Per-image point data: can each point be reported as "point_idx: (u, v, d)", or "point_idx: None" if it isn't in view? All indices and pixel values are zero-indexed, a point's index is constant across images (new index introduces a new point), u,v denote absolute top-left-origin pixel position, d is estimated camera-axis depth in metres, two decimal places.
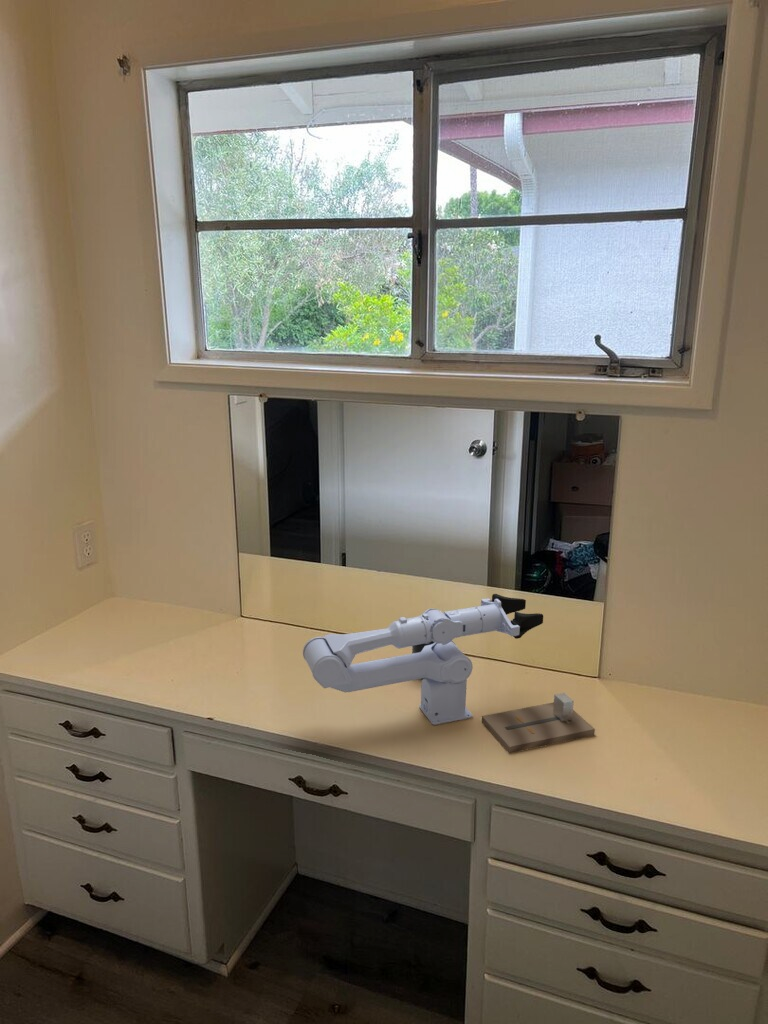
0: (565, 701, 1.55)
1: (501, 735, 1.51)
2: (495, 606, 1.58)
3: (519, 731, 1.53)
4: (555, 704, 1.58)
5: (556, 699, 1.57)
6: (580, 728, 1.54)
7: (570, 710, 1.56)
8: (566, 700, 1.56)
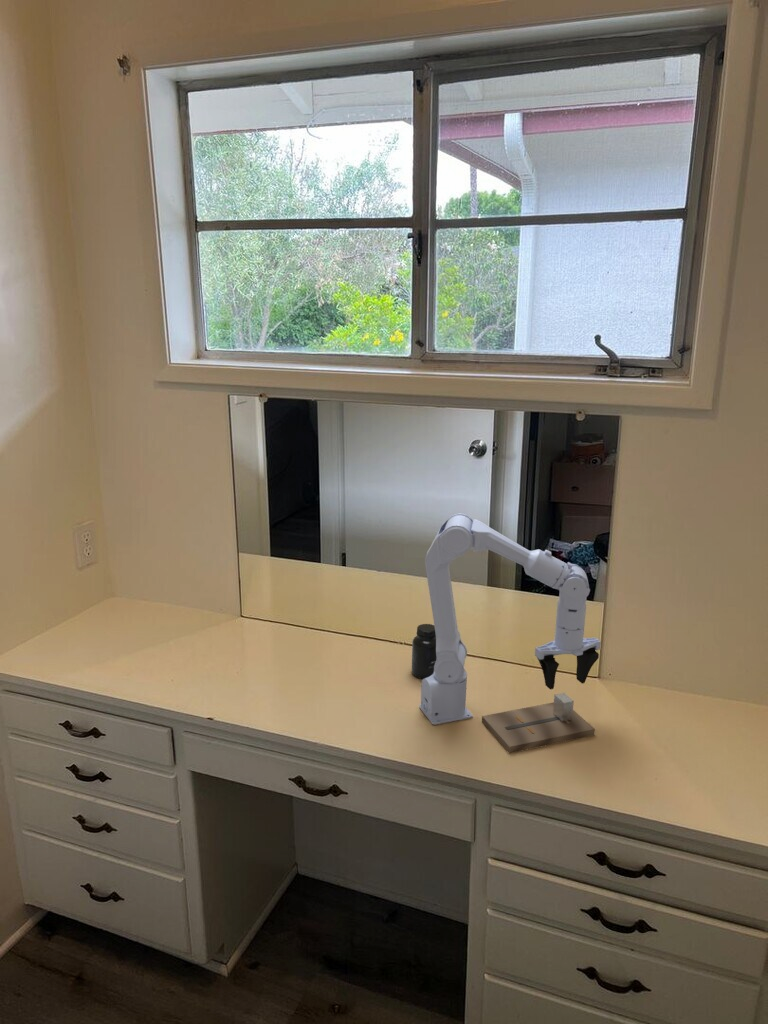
0: (565, 701, 1.55)
1: (501, 735, 1.51)
2: (574, 648, 1.51)
3: (519, 731, 1.53)
4: (555, 704, 1.58)
5: (556, 699, 1.57)
6: (580, 728, 1.54)
7: (570, 710, 1.56)
8: (566, 700, 1.56)
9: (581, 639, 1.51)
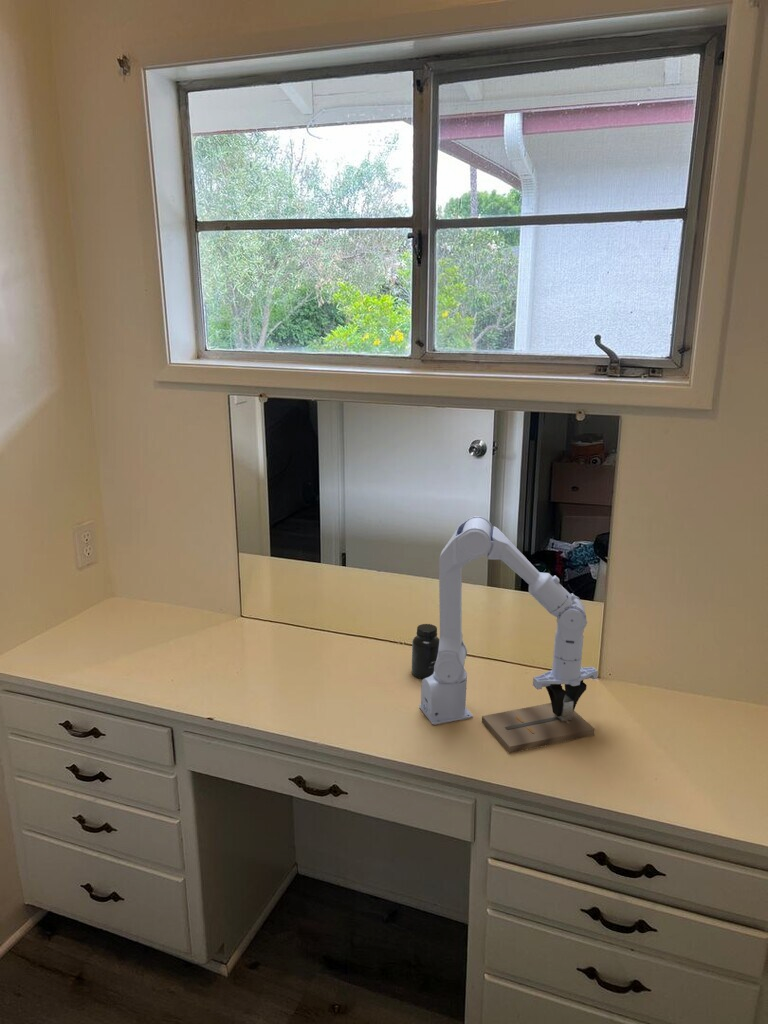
0: (565, 701, 1.55)
1: (501, 735, 1.51)
2: (572, 678, 1.52)
3: (519, 731, 1.53)
4: None
5: None
6: (580, 728, 1.54)
7: (570, 710, 1.56)
8: (566, 700, 1.56)
9: (578, 669, 1.53)
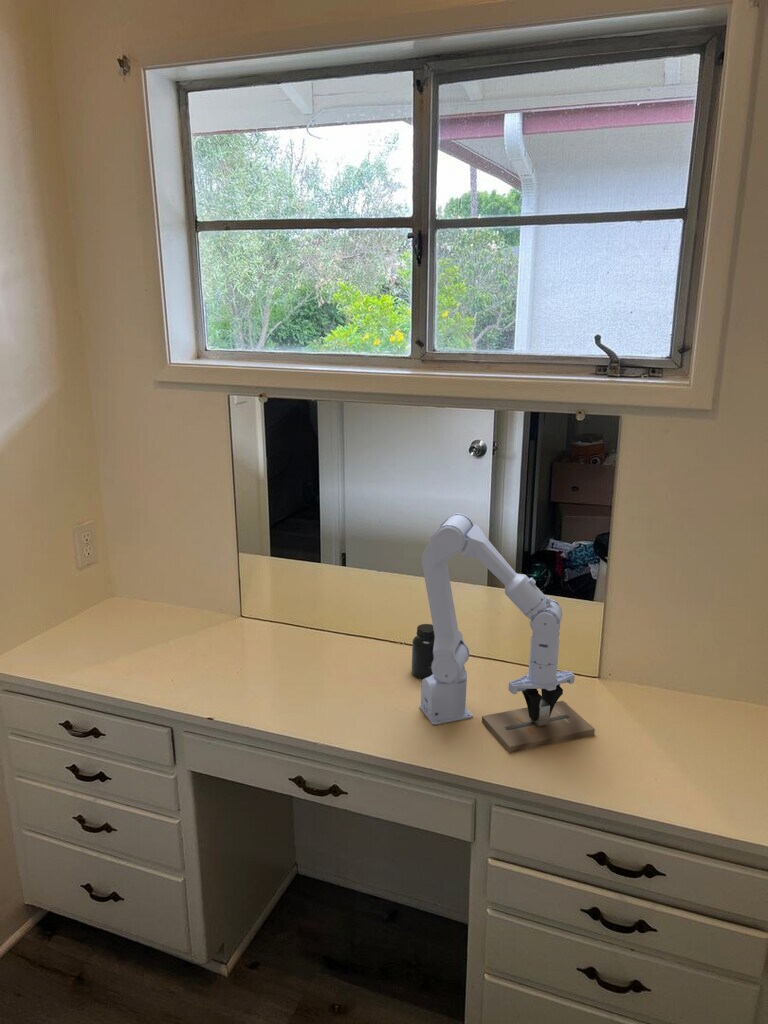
0: (541, 705, 1.54)
1: (501, 735, 1.51)
2: (547, 683, 1.51)
3: (519, 731, 1.53)
4: None
5: None
6: (580, 728, 1.54)
7: (546, 715, 1.54)
8: (543, 704, 1.54)
9: (554, 674, 1.51)
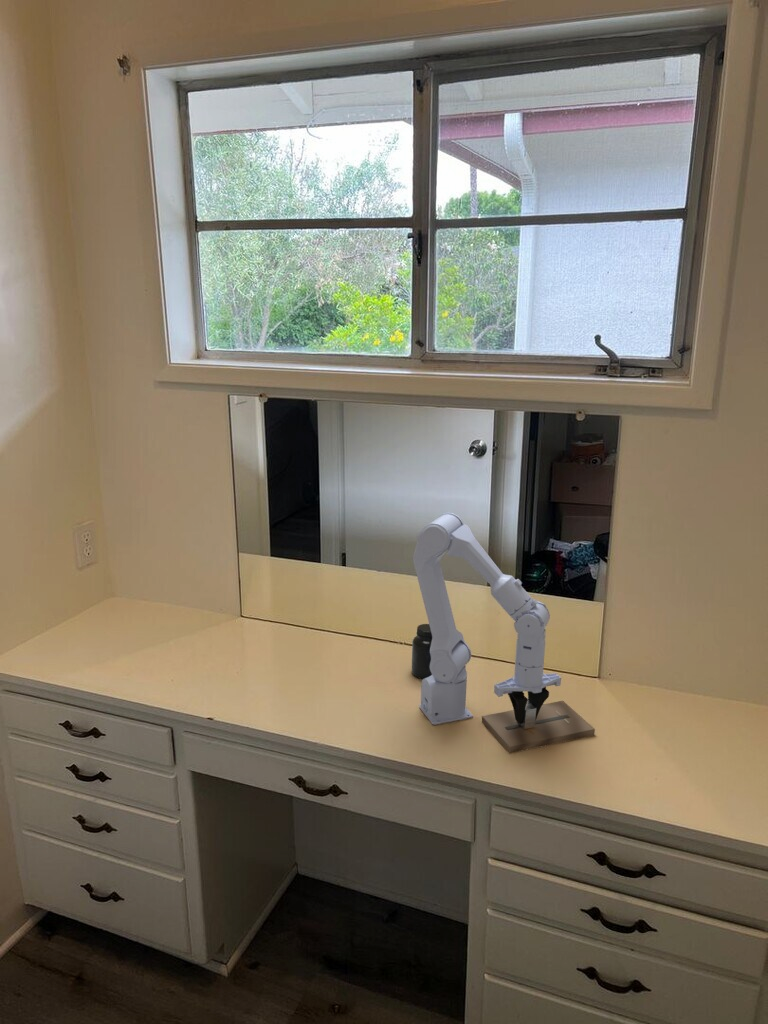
0: (527, 708, 1.53)
1: (501, 735, 1.51)
2: (533, 685, 1.50)
3: (519, 731, 1.53)
4: None
5: None
6: (580, 728, 1.54)
7: (533, 717, 1.53)
8: (529, 707, 1.53)
9: (540, 676, 1.50)
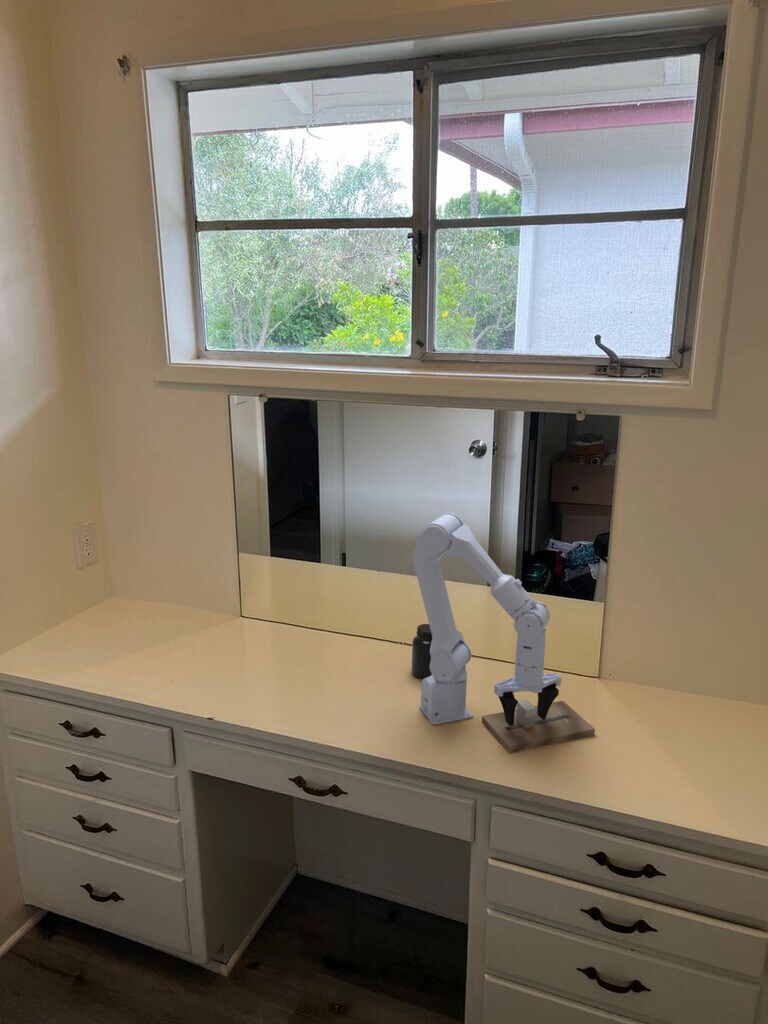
0: (527, 708, 1.53)
1: (501, 735, 1.51)
2: (533, 685, 1.50)
3: (519, 731, 1.53)
4: (518, 711, 1.55)
5: (519, 706, 1.54)
6: (580, 728, 1.54)
7: (533, 717, 1.53)
8: (529, 707, 1.53)
9: (540, 676, 1.50)
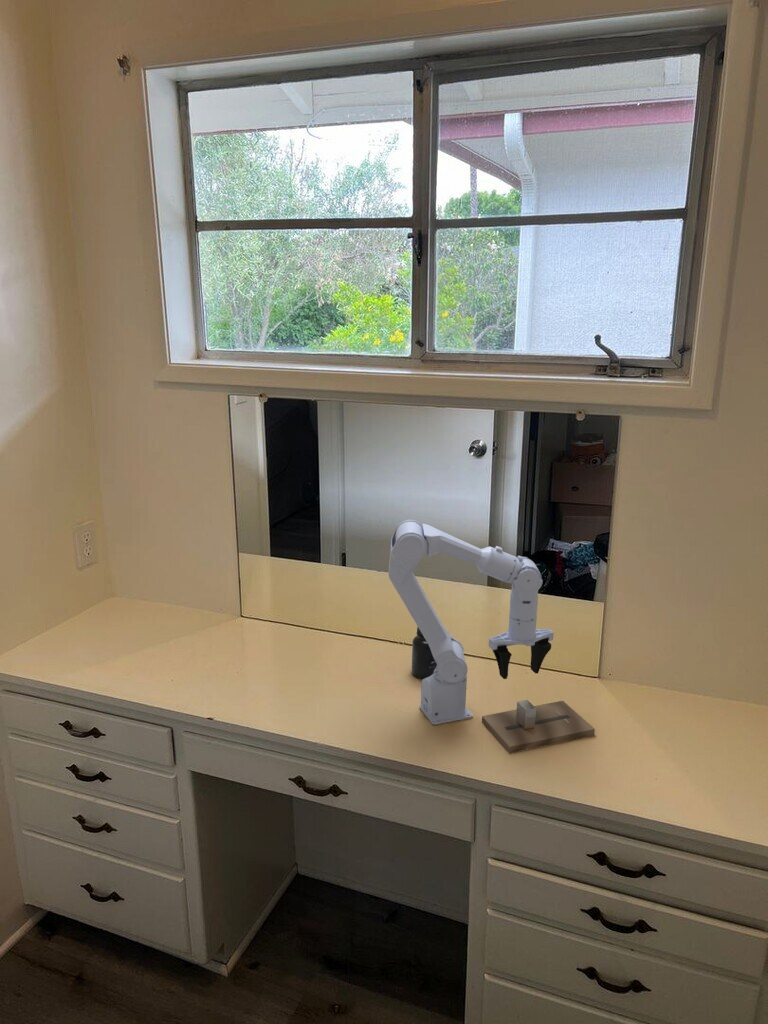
0: (527, 708, 1.53)
1: (501, 735, 1.51)
2: (526, 639, 1.55)
3: (519, 731, 1.53)
4: (518, 711, 1.55)
5: (519, 706, 1.54)
6: (580, 728, 1.54)
7: (533, 717, 1.53)
8: (529, 707, 1.53)
9: (533, 630, 1.55)
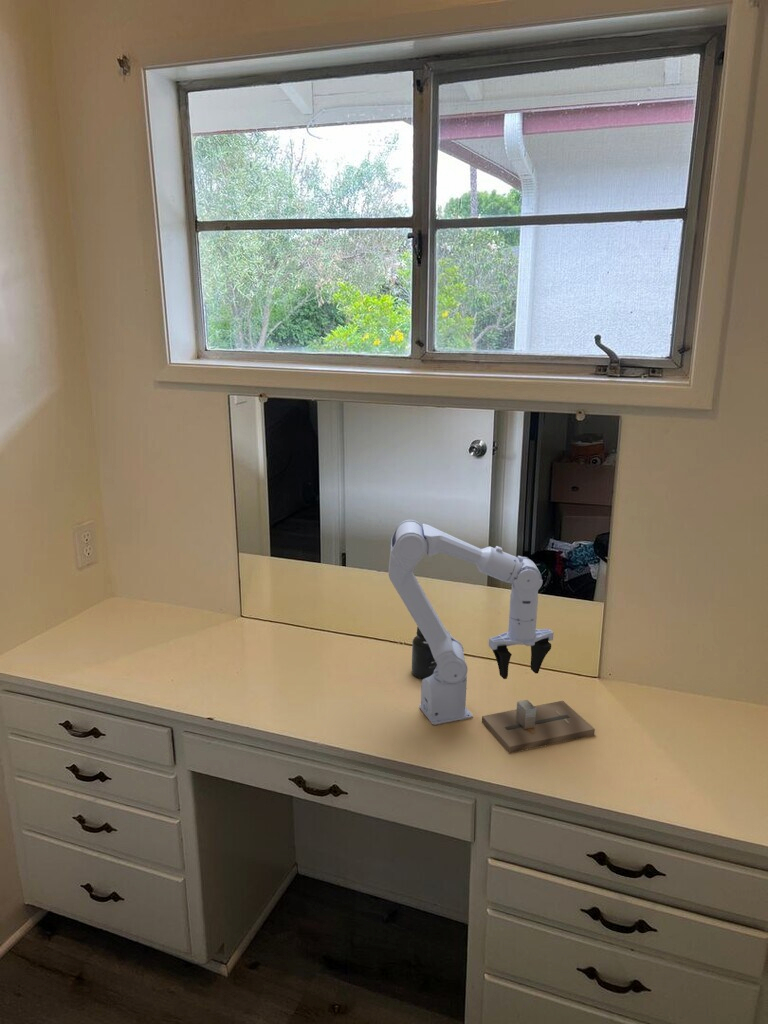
0: (527, 708, 1.53)
1: (501, 735, 1.51)
2: (526, 639, 1.55)
3: (519, 731, 1.53)
4: (518, 711, 1.55)
5: (519, 706, 1.54)
6: (580, 728, 1.54)
7: (533, 717, 1.53)
8: (529, 707, 1.53)
9: (533, 630, 1.55)
